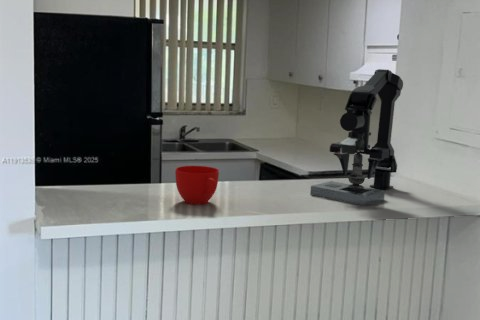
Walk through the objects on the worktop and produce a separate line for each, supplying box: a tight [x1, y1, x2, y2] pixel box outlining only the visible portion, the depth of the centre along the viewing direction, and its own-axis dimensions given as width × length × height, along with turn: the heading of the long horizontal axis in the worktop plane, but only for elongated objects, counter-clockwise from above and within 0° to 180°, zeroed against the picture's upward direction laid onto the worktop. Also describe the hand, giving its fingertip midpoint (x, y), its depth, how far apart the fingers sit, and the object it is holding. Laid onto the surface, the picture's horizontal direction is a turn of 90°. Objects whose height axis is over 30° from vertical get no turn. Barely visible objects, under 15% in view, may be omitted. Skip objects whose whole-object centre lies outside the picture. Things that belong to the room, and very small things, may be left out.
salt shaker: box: [347, 153, 367, 189], centre depth 193 cm, size 6×6×12 cm
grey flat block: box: [310, 180, 385, 207], centre depth 196 cm, size 13×20×3 cm, turn 50°
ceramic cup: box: [175, 165, 220, 205], centre depth 178 cm, size 13×17×10 cm
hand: (356, 176), depth 194 cm, fingers closed on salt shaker, 8 cm apart
